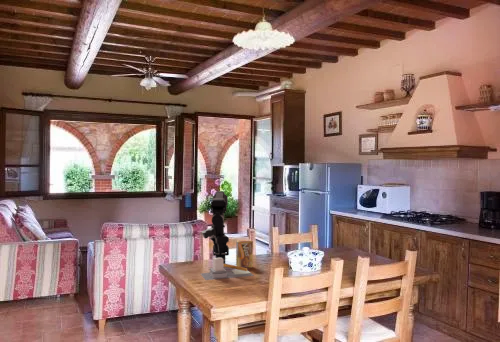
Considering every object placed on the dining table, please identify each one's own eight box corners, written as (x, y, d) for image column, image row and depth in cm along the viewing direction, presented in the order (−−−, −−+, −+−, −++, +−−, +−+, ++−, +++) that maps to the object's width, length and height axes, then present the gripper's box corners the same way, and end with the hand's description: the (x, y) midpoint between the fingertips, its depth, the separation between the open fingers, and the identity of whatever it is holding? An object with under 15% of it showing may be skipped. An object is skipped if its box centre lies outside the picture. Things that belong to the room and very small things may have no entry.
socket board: (200, 275, 228) (200, 267, 228) (246, 271, 237) (246, 263, 237) (205, 282, 216) (205, 273, 216) (254, 277, 225) (254, 269, 225)
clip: (217, 265, 231) (217, 263, 231) (220, 264, 232) (220, 262, 232) (245, 271, 219) (245, 268, 219) (247, 270, 221) (247, 267, 221)
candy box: (250, 265, 250) (250, 239, 249) (252, 267, 246) (253, 240, 245) (235, 266, 247) (236, 240, 246) (238, 268, 243) (238, 241, 242)
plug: (209, 274, 226) (209, 257, 226) (223, 273, 228) (223, 256, 228) (213, 278, 219) (213, 260, 219) (226, 277, 222) (226, 259, 221)
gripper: (199, 221, 229) (199, 250, 230) (207, 226, 212) (207, 258, 212) (219, 220, 233) (219, 249, 233) (229, 225, 215) (229, 256, 216)
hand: (218, 252), depth 224 cm, fingers open, 7 cm apart
